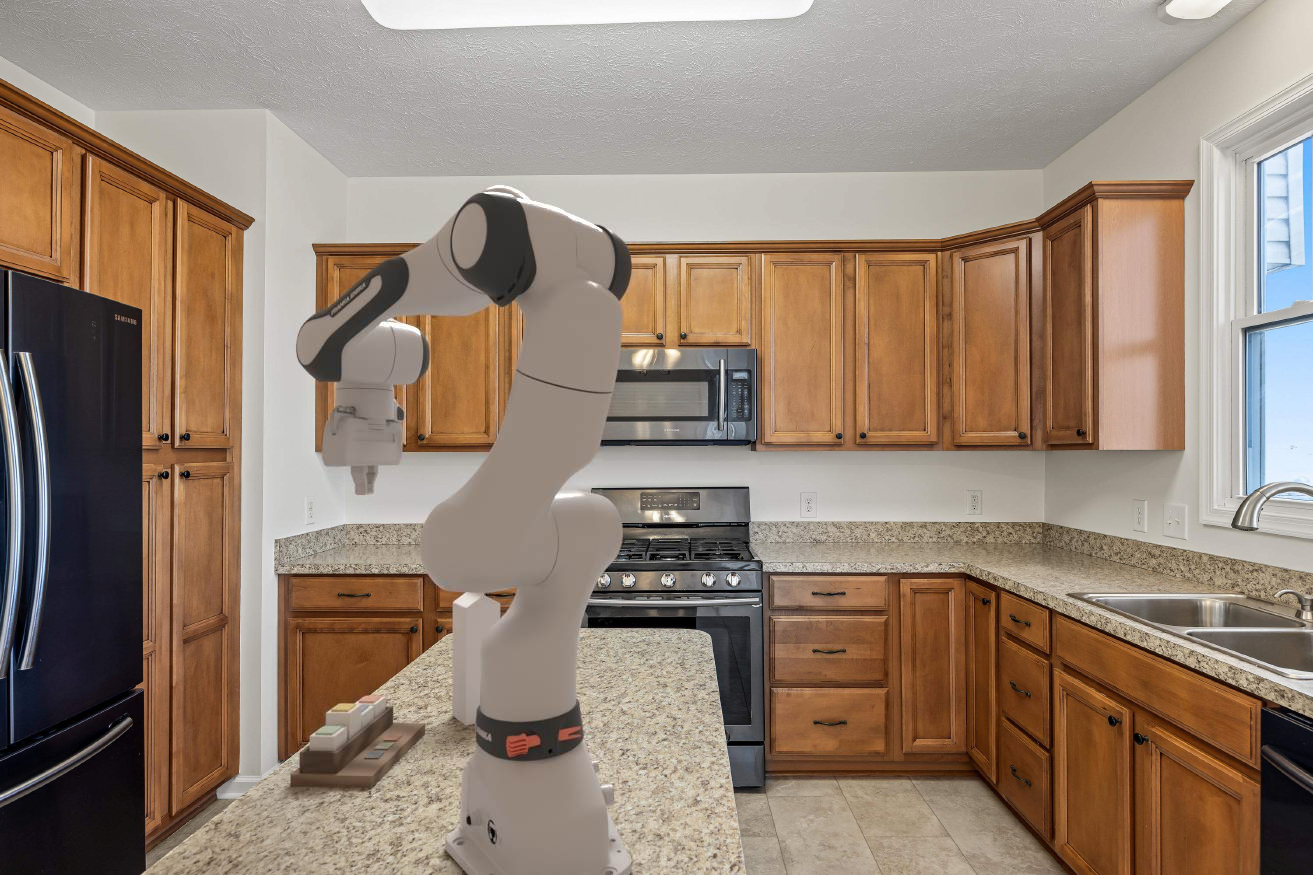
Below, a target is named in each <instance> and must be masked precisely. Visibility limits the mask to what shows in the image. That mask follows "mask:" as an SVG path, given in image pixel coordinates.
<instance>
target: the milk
mask: <svg viewBox="0 0 1313 875" xmlns="http://www.w3.org/2000/svg"><path fill="white" fill-rule="evenodd" d="M500 618H501V603H500V602H498V601H496V600H494V599H493V598H490V597H488V596H486V595H485V593H472V592H464V593H462V595H461V596H459V597H457V598H456V599H455V600H454V601H452V674H451V675H452V681H451V682H452V690H451V691H452V696H451V697H452V699H451V701H452V703H451V704H452V706H451V708H452V710H451V711H452V712H451V715H452V716H453V717H454V718H455V719H456V720H458V721H459V722H460V723H462V724H463V725H464V726H466V727H467V726H472V725H475V719H476V711H477V708H478V706H479V705H480V648H481V644H482V641H483V638H484V636H485V634H486V633H487V631H488V630H489V629H490V628H491V627H492V626H493V625H494V624H495V623H496V622H497V621H498V620H499V619H500Z"/></svg>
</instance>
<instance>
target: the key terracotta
mask: <svg viewBox="0 0 1313 875" xmlns="http://www.w3.org/2000/svg"><path fill="white" fill-rule="evenodd" d="M386 698H387V697H386V696H381V695H365V696H363V697H361V698H360V699H359V700H357V701H356V702H354V704H359V705H369V706H374V719H375V718H377V717H378V716H379V715H380V714H382V713H383V712H384V711H385V710H386V706H387V705H386V703H387V701H386V700H387V699H386Z"/></svg>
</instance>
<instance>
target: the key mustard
mask: <svg viewBox="0 0 1313 875" xmlns="http://www.w3.org/2000/svg"><path fill="white" fill-rule="evenodd" d="M325 726H342V727H347V741H349V740H350V739H351V738H352V737H354V736H355V735H356V734H357V733H358V732H360V731H361V705H359V704H355V703H345V702H344V703H338V704H336V705H335V706H333V707H332V708H331V709H329V710H328V711H326V713H325Z"/></svg>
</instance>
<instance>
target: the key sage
mask: <svg viewBox="0 0 1313 875" xmlns="http://www.w3.org/2000/svg"><path fill="white" fill-rule="evenodd" d="M346 742H347V727H342V726H326V725H324V726H322V727H320V728H318V730H316V731H315V732H313V733H312V734H311V735H309V743H308V744H309V745H308V746H309V751H337V750H338V749H339V748H340V747H341V746H343V745H344V744H345V743H346Z"/></svg>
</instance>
